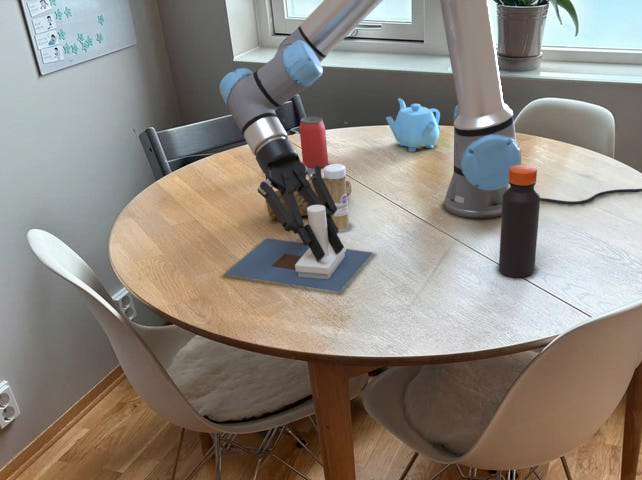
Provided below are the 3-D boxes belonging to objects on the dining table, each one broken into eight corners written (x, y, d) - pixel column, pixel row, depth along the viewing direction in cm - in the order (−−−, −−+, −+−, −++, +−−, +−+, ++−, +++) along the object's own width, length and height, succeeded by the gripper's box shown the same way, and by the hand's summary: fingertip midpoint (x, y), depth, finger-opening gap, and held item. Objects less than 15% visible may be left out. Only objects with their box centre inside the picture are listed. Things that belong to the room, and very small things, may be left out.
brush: (346, 255, 144) (342, 198, 137) (329, 280, 136) (323, 220, 129) (315, 253, 146) (309, 196, 139) (296, 277, 137) (288, 218, 130)
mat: (373, 254, 146) (373, 252, 145) (339, 294, 132) (339, 291, 132) (266, 240, 152) (266, 238, 152) (224, 276, 139) (224, 274, 139)
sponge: (275, 232, 158) (361, 203, 160) (263, 198, 155) (350, 169, 157) (272, 220, 170) (352, 193, 172) (260, 188, 167) (342, 161, 169)
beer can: (333, 163, 191) (329, 117, 185) (317, 171, 187) (313, 124, 180) (314, 159, 194) (309, 114, 187) (298, 166, 190) (292, 120, 183)
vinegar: (507, 259, 143) (513, 160, 132) (539, 267, 140) (548, 166, 129) (492, 273, 138) (497, 171, 127) (525, 281, 135) (533, 178, 124)
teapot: (381, 150, 199) (379, 108, 193) (399, 136, 210) (398, 96, 204) (433, 156, 195) (432, 114, 188) (449, 141, 205) (450, 100, 199)
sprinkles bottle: (345, 232, 155) (340, 171, 147) (325, 230, 156) (319, 169, 148) (352, 224, 158) (348, 164, 151) (333, 222, 160) (328, 162, 152)
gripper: (302, 148, 145) (358, 249, 144) (228, 168, 136) (287, 276, 135) (314, 127, 139) (373, 232, 137) (237, 147, 130) (299, 259, 129)
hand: (330, 254), depth 136 cm, fingers closed on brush, 4 cm apart
